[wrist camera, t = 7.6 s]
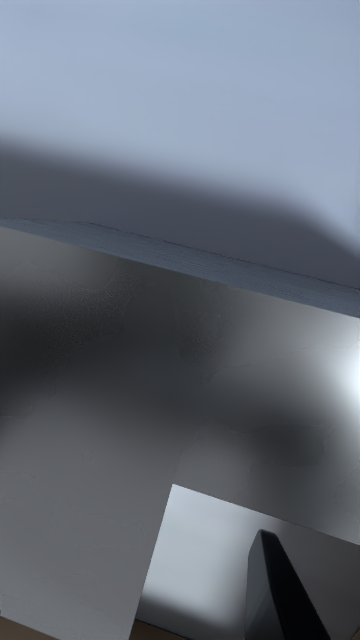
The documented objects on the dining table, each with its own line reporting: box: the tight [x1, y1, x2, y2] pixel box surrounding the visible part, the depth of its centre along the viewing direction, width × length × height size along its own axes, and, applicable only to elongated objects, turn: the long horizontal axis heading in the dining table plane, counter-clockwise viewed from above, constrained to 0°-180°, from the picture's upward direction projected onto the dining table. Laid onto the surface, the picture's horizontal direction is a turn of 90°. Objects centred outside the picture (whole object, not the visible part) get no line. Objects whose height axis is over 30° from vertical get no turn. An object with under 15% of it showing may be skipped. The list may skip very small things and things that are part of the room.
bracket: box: [0, 218, 360, 640], centre depth 7 cm, size 9×9×4 cm
